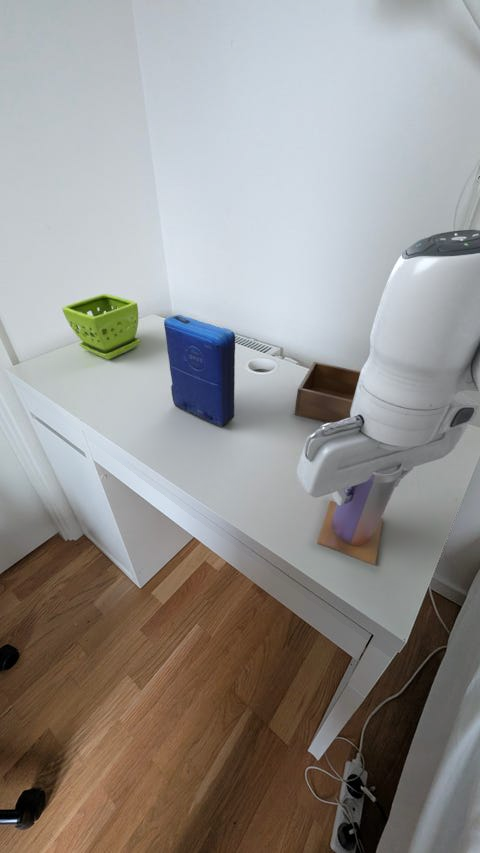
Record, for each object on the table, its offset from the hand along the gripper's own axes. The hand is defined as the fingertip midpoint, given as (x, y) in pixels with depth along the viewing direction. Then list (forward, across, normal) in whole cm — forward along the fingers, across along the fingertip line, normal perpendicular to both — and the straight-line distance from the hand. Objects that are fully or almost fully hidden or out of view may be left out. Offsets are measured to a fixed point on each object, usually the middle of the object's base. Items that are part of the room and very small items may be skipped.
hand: (364, 492), depth 44 cm
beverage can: (+9, 0, 0) cm, 9 cm away
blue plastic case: (+9, -13, +35) cm, 39 cm away
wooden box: (+9, +14, +28) cm, 33 cm away
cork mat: (+9, 0, 0) cm, 9 cm away
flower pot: (+9, -29, +73) cm, 79 cm away
